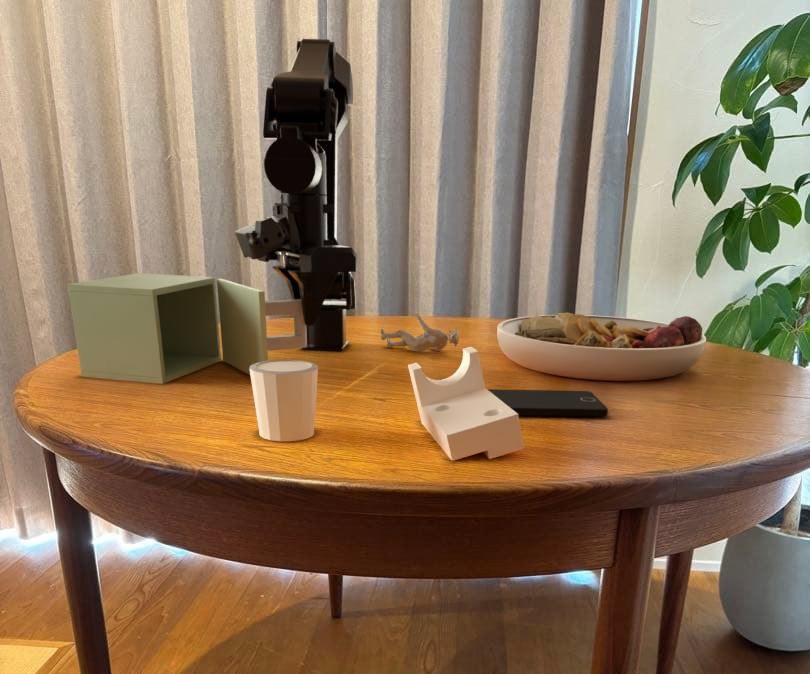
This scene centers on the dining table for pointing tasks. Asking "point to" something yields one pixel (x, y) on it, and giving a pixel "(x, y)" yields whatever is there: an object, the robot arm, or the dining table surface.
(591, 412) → the cell phone
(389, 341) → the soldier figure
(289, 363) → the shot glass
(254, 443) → the dining table surface
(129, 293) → the cupboard
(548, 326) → the bowl
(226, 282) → the cupboard door
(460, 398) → the bracket
